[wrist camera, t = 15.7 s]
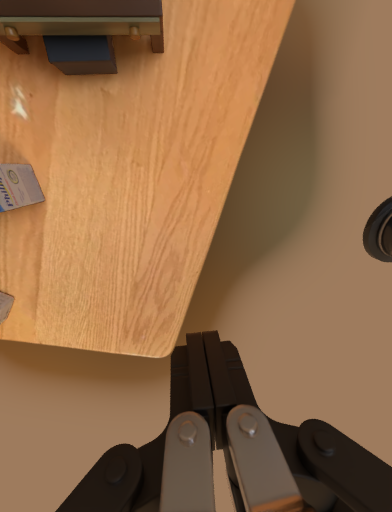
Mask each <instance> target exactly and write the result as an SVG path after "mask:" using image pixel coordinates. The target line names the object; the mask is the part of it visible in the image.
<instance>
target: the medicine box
mask: <svg viewBox="0 0 392 512" xmlns="http://www.w3.org/2000/svg"><path fill="white" fill-rule="evenodd" d="M42 201H45V198H44V196H43V193H42V191H41V188H40V186H39V184H38V181H37V179H36V177H35V174H34V172H33V170H32V167H31V165H29V164H0V212H4V211H8V210H12V209H16V208H19V207H23V206H27V205H31V204H35V203H39V202H42Z"/></svg>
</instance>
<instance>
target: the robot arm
mask: <svg viewBox="0 0 392 512" xmlns="http://www.w3.org/2000/svg"><path fill="white" fill-rule="evenodd" d="M376 243H377V246H378V248H379V250H380V251H381V252H382V253H384V254H386V255H388V256H391V257H392V210H391V211H390V212H389V213H388V214H387V215H386V216H385V217H384V219H383V220H382V222H381V224H380V225H379V228H378V230H377V235H376ZM186 341H187V345H185V346H176V347H175V349H174V351H173V353H172V355H171V389H170V390H171V391H170V394H171V395H170V397H171V398H170V418H169V422H168V424H167V426H166V428H165V429H164V431H163V432H162V433H161V434H160V435H159V436H158V437H157V438H156V439H154V440H153V441H151V442H149V443H147V444H145V445H143V446H141V447H140V448H138V449H136V448H135V447H134V446H133V445H130V444H119V445H116V446H114V447H112V448H110V449H109V450H108V451H107V452H105V453H104V454H103V455H102V457H101V458H100V459H99V460H98V461H97V462H96V464H95V465H94V466H93V467H92V469H91V470H90V471H89V472H88V473H87V475H86V476H85V477H84V478H83V479H82V480H81V482H80V483H79V484H78V485H77V486H76V488H75V489H74V490H73V491H72V493H71V494H70V495H69V496H68V497H67V498H66V500H65V501H64V502H63V503H62V504H61V505H60V507H59V508H58V509H57V510H56V511H55V512H216V511H215V499H214V484H213V452H212V451H214V450H215V442H216V448H217V450H219V449H223V451H224V457H225V462H226V476H227V481H228V486H229V490H230V494H231V499H232V503H233V507H234V512H392V467H391V466H389V465H388V464H386V463H385V462H383V461H382V460H381V459H379V458H378V457H376V456H375V455H373V454H372V453H371V452H369V451H367V450H366V449H365V448H363V447H362V446H360V445H359V444H357V443H356V442H355V441H353V440H352V439H350V438H349V437H347V436H346V435H344V434H343V433H341V432H340V431H338V430H337V429H336V428H334V427H333V426H331V425H330V424H328V423H326V422H324V421H321V420H318V419H309V420H306V421H304V422H303V423H302V424H301V425H300V427H296V426H291V425H287V424H283V423H279V422H276V421H274V420H272V419H270V418H269V417H268V416H266V415H265V414H264V413H263V412H262V411H261V410H260V408H259V407H258V405H257V403H256V400H255V398H254V395H253V392H252V389H251V386H250V384H249V381H248V378H247V375H246V372H245V369H244V367H243V364H242V361H241V358H240V356H239V353H238V350H237V348H236V347H235V346H234V345H233V344H232V343H231V342H230V341H223V342H220V338H219V334H218V331H217V330H216V331H206V332H202V335H201V332H198V333H187V334H186Z"/></svg>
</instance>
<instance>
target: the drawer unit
mask: <svg viewBox="0 0 392 512" xmlns="http://www.w3.org/2000/svg"><path fill="white" fill-rule="evenodd" d="M21 35H130V38H131V39H132V40H139V39H140V35H151V42H152V49H153V53H164V37H163V13H162V1H161V0H0V42H2V43H3V44H4V45H6V46H7V47H9V48H10V49H11V50H13V51H14V52H15V53H17V54H29V51H28V47H27V43H26V40H25V39H24V38H23V37H22V36H21Z"/></svg>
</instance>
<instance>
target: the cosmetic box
mask: <svg viewBox="0 0 392 512" xmlns="http://www.w3.org/2000/svg"><path fill="white" fill-rule="evenodd" d="M13 301H14V298H13V297H12V296H9V295H7V294H4V293H2V292H0V324H1V323H2V322H3V321H4V320H6V319H7V317H8V314H9V312H10V309H11V306H12V304H13Z"/></svg>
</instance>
